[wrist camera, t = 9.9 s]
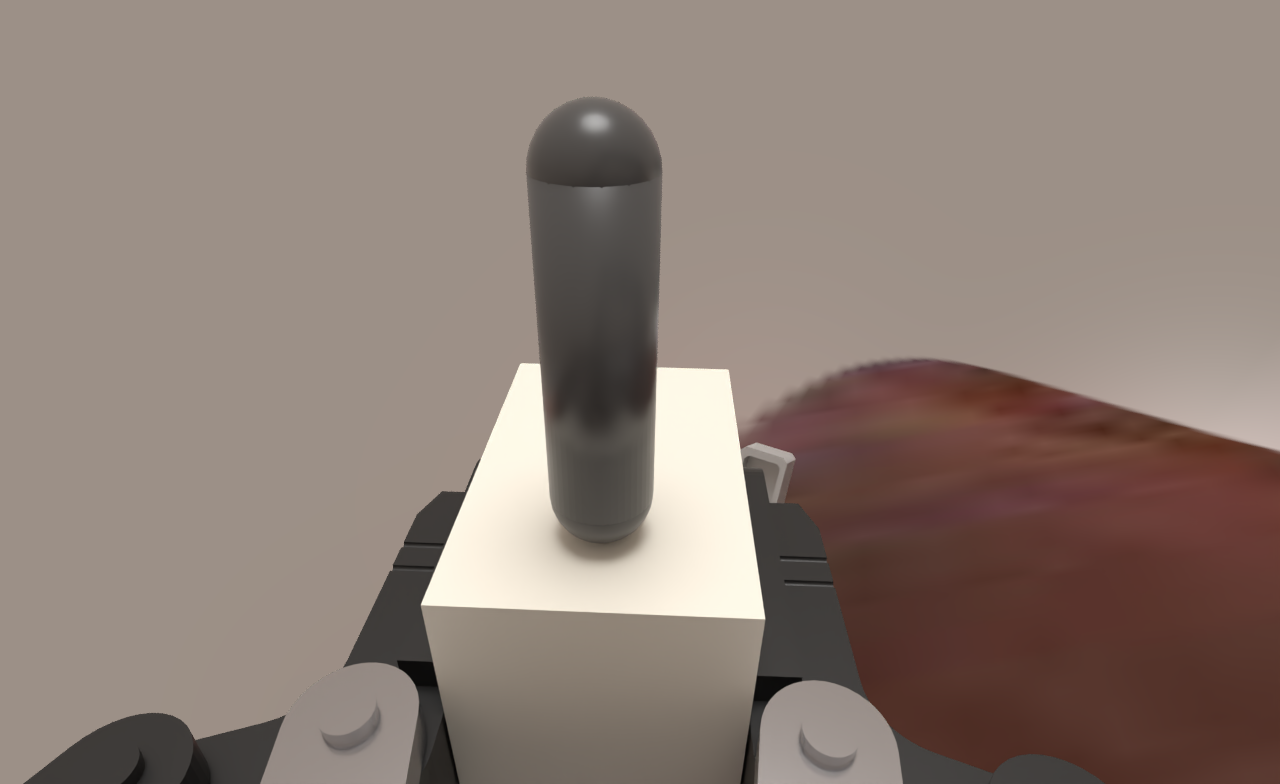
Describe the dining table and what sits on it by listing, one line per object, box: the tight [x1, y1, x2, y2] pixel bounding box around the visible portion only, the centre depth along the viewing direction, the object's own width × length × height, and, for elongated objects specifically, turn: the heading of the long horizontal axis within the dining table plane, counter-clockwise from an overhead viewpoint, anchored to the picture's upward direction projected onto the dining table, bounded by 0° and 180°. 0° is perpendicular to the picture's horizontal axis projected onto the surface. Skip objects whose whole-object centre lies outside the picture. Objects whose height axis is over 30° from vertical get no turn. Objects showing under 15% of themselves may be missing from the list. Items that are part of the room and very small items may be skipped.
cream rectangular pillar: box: [421, 97, 765, 784], centre depth 10 cm, size 3×4×17 cm, turn 178°
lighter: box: [741, 443, 795, 503], centre depth 24 cm, size 7×2×8 cm, turn 151°
